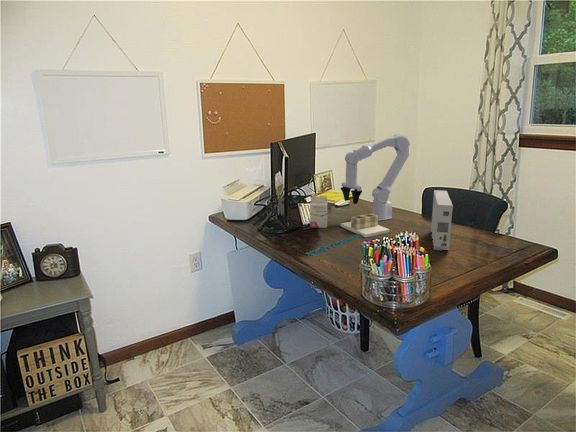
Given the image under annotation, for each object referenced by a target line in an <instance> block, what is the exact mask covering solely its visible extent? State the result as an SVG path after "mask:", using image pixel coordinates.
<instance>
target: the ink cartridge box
mask: <svg viewBox="0 0 576 432" xmlns="http://www.w3.org/2000/svg"><path fill="white" fill-rule="evenodd" d="M309 211H310V212H309V227H310V228H320V229H321V228H325V229H326V228H328V196H311V197H310V204H309Z"/></svg>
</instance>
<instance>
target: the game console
mask: <svg viewBox="0 0 576 432" xmlns="http://www.w3.org/2000/svg"><path fill="white" fill-rule="evenodd" d="M432 200H433V202H432V215H431V225H430V227H431V228H430V229H431V230H430V232H432V234H431V240H432V239H433V240H432V246H434V247H433V250H434V251H442V250H448V251H450V242H451V241H450V240H451V229H452V219H453V218H452V217H453V210H454V206H453V203H452V200H451V198H450V196H449V193H448V191H447V190H439V189H437V190H435V189H434V190H433V199H432Z"/></svg>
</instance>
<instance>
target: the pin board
mask: <svg viewBox="0 0 576 432" xmlns="http://www.w3.org/2000/svg"><path fill="white" fill-rule="evenodd" d="M340 227H341V228H344V229H345V230H348V231H349V232H353V233H354V234H355V235H359V234H361V235H362V238H363V237H364V238H370V237H375V236H379V235H384V234H390V231H391V229H389V228H387V227H385V226H382V225H379V224H378V226H374V227H369V228H364V229H359V230H357V229H354V228H352V227H351V221H347V222H342V223H340Z"/></svg>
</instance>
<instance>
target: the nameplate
mask: <svg viewBox="0 0 576 432" xmlns="http://www.w3.org/2000/svg"><path fill="white" fill-rule="evenodd" d="M359 238H363V236H362V235H361V234H355V235H352V236H351V237H349V236H348V238H344V239H341V240H340V241H339V240H338V241H336V242H332V243H329V244H328V246H324V245H323V246H322V245H321V246H320V247H318V248H317V249H314V250H311V251H309V252H306V253H304V255H305V254H307V255H306V256H311V255H314V256H315V254H319V253H320V252H327V251H328V249H331V246H332V248H336V249H337V248H338V247H341V246H342V245H343V244H346V243H347V242H352V241H354V240H356V239H359Z"/></svg>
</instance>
